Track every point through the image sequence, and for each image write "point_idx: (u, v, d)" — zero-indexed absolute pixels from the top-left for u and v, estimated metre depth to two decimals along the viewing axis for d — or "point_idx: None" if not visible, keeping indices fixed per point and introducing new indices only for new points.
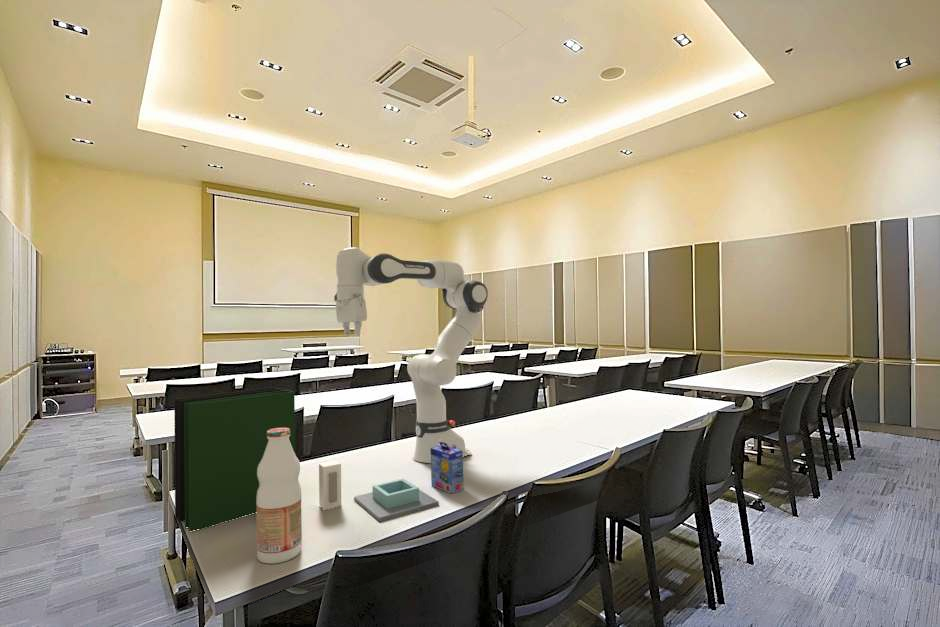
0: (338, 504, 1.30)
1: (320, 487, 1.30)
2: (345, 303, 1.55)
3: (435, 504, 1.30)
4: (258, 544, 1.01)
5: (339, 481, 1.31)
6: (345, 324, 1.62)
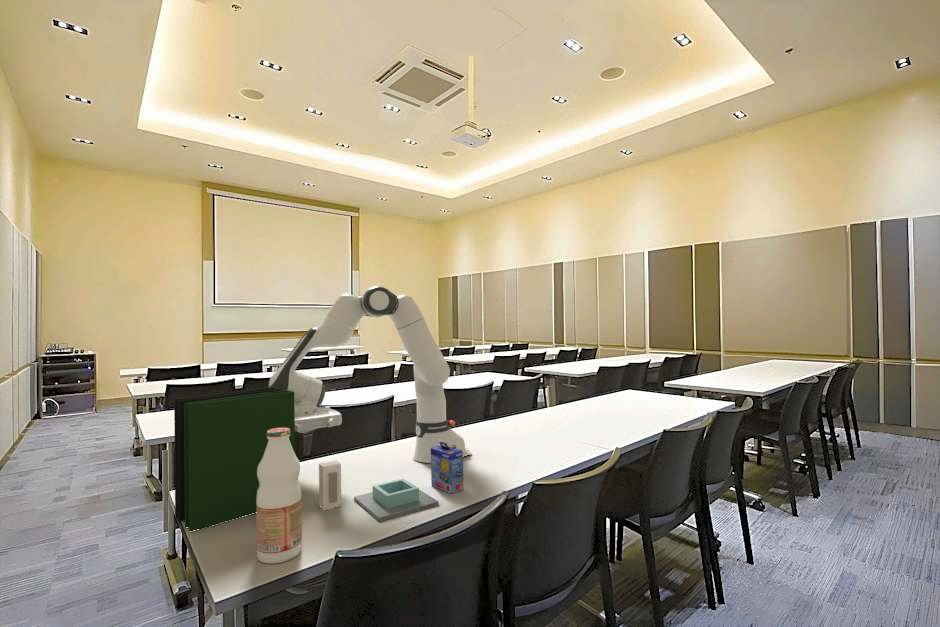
0: (338, 504, 1.30)
1: (320, 487, 1.30)
2: None
3: (435, 504, 1.30)
4: (258, 544, 1.01)
5: (339, 481, 1.31)
6: None
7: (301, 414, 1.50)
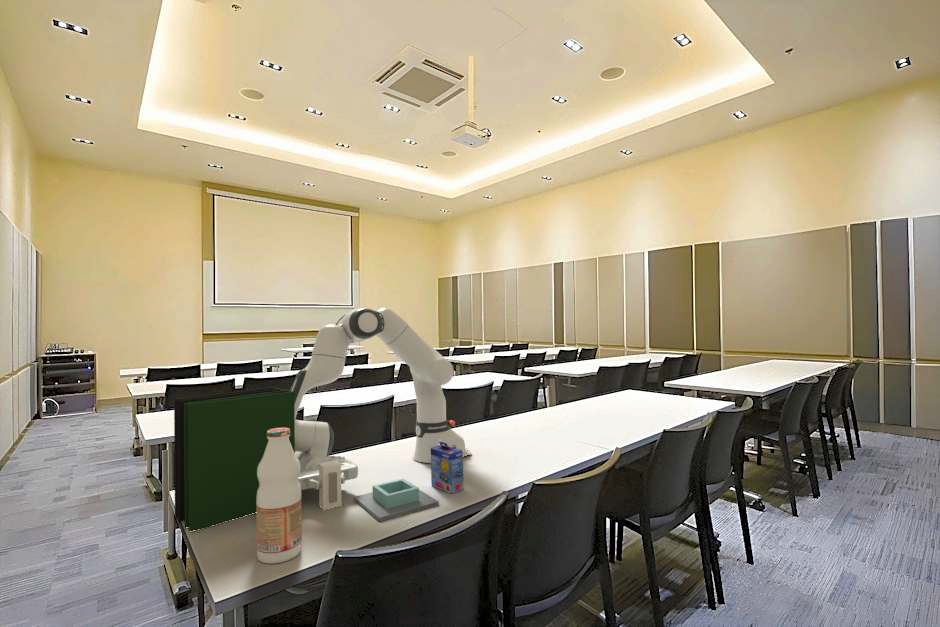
0: (338, 504, 1.30)
1: None
2: None
3: (435, 504, 1.30)
4: (258, 544, 1.01)
5: (339, 481, 1.31)
6: None
7: (314, 467, 1.38)
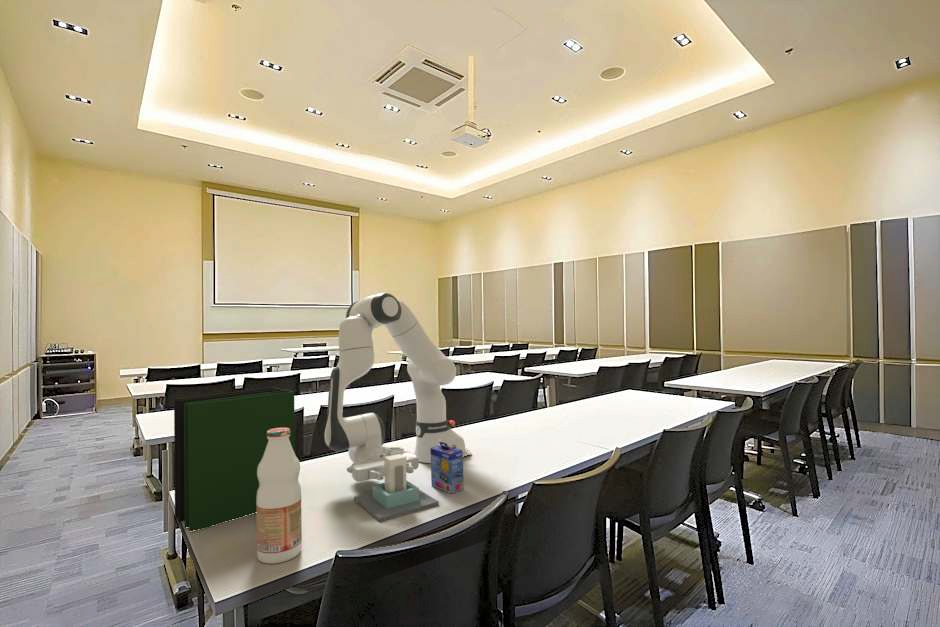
0: None
1: (386, 480, 1.32)
2: None
3: (435, 504, 1.30)
4: (258, 544, 1.01)
5: (404, 474, 1.32)
6: None
7: (376, 458, 1.40)
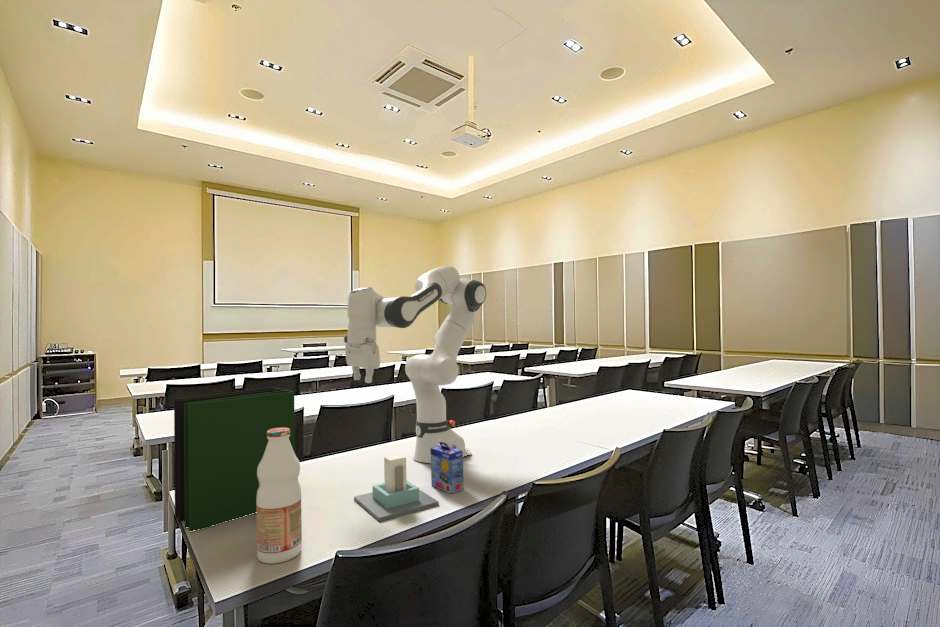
0: None
1: (386, 480, 1.32)
2: (356, 347, 1.45)
3: (435, 504, 1.30)
4: (258, 544, 1.01)
5: (404, 474, 1.32)
6: (355, 367, 1.52)
7: None
